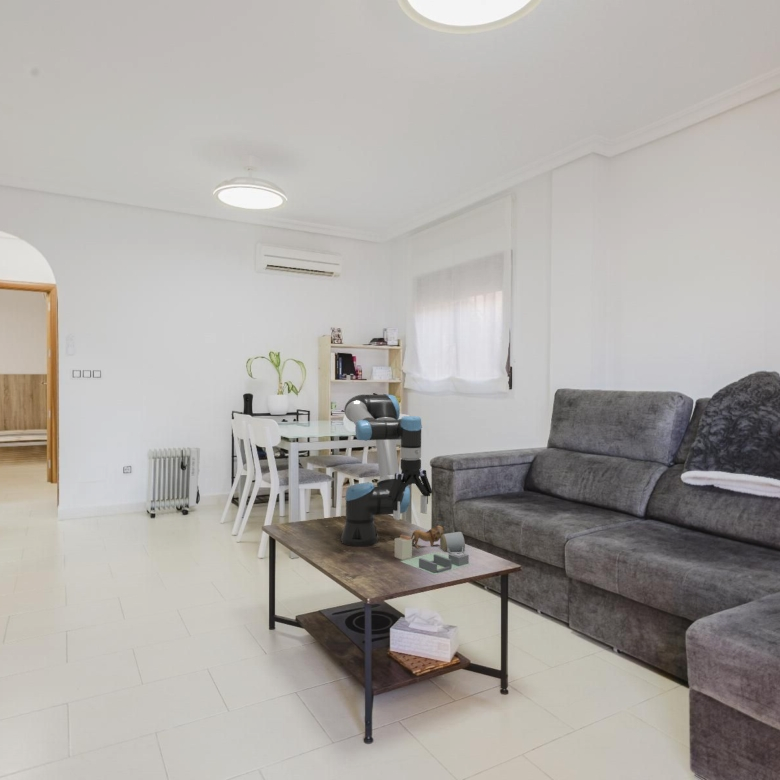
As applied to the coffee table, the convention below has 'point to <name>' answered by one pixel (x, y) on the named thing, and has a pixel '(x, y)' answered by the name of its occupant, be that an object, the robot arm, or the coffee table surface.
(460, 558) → the fan
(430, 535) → the lion figurine
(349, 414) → the robot arm
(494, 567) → the coffee table surface
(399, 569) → the coffee table surface
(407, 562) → the board
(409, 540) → the plug
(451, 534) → the ceramic mug
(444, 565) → the header
